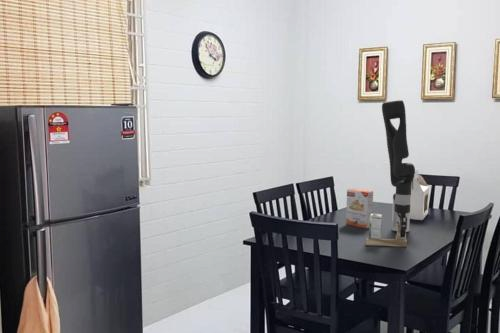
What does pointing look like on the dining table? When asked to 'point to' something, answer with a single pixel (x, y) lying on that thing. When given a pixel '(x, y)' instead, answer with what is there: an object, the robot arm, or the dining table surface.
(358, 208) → the cracker box
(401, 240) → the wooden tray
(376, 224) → the syrup box
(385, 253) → the dining table surface
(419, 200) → the gable box
